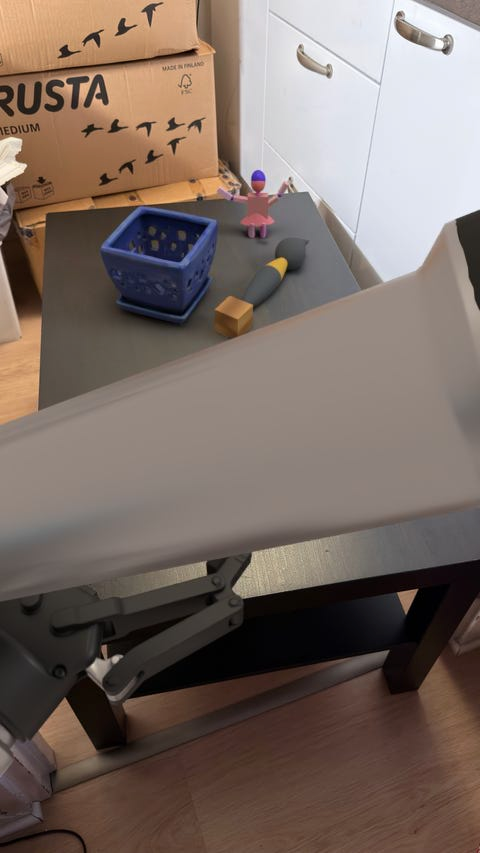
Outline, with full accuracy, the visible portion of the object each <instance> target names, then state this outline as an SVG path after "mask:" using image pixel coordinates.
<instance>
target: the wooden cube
mask: <svg viewBox="0 0 480 853" xmlns="http://www.w3.org/2000/svg"><path fill="white" fill-rule="evenodd" d="M253 314H254V307H253V305H252V304H249V303H247V302H245V301H242V300H241V299H240V298H237V297H235V296H232V295H229V296H227V297H226V298H225V299H224V301H222V302H221V303H220V304H219V305H218V306H217V307H216V308H215V309H214V332H216V333H218V334H220V335H223V336H224V337H227V338H230V339H233V338H236V337H238V336H241V335H244V334H247V333H248V332H249V331H250V329H252V328H253V316H254V315H253Z"/></svg>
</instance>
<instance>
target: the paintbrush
mask: <svg viewBox="0 0 480 853" xmlns="http://www.w3.org/2000/svg"><path fill="white" fill-rule="evenodd" d="M309 242H310V240H308V239H305V238H304V239H303V238H299V237H286V238H284V239H282V240H281V241H280V242H278V244H277V245H276V247H275V251H274V260H272V261H270V262H268V263H267V264H264V266H262V267H261V268H260V269H259V270H258V272H256V274H255V275H254V276H253V277H252V279H251V280H250V282H249V283H248V285H247V287H246V289H245V290H244V291H243V294H242V296H241V299H240V300H242V301H245V302H247V303H249V304H252V305H253V308H254V307H256V306H257V305H259V304H260V303H261V302H263V301H264V300H265V299H267V297H269V296H270V295H271V294H272V293H273V292H274V291H275V290H276V289H277V287H278V286H279V285H280V284H281V283H282V280H283V278H284V275H285V274H286V271H293V270H297V269H299V268H300V267H301V266H302V265H303V263H304V262H305V259H306V254H307V253H306V252H307V249H306V246H307V245H308V244H309Z"/></svg>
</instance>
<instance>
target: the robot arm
mask: <svg viewBox="0 0 480 853" xmlns="http://www.w3.org/2000/svg"><path fill="white" fill-rule="evenodd" d="M473 509H480V209H477V210H475V211H472V212H470V213H467V214H465V215H464V214H463V215H462V216H460V217H457V218H454V219H452V220H450V221H448V222H447V221H446V222H445V223H444V224H443V226H442V228H441V230H440V232H439V233H438V235H437V237H436V239H435V241H434V243H433V244H432V246H431V248H430V250H429V252H428V254H427V255H426V257H425V259H424V261H423V262H422V264H421V265H420V266H419V267H418V268H417V269H416V270H414V271H412V272H409V273H406V274H403V275H400V276H398V277H395V278H392V279H390V280H387V281H385V282H381V283H378V284H376V285H374V286H371V287H368V288H365V289H363V290H360V291H357V292H354V293H351V294H349V295H347V296H343V297H341V298H337V299H336V300H333V301H330V302H327V303H324V304H322V305H320V306H319V305H318V306H317V307H314V308H311V309H308V310H305V311H303V312H300V313H298V314H295V315H293V316H290V317H287V318H285V319H282V320H278V321H277V322H274V323H270V324H269V325H266V326H263V327H260V328H257V329H255V330H252V331H248V332H246V333H245V334H244V335H241V336H238V337H236V338H233V339H232V338H230V339H228V340H225V341H222V342H220V343H217V344H213V345H212V346H209V347H207V348H203V349H201V350H198V351H196V352H193V353H191V354H187V355H184V356H182V357H178V358H177V359H174V360H172V361H169V362H166V363H163V364H161V365H158V366H155V367H153V368H149V369H147V370H143V371H141V372H139V373H137V374H133V375H130V376H128V377H125V378H122V379H120V380H117V381H115V382H112V383H109V384H106V385H104V386H100V387H99V388H96V389H93V390H90V391H87V392H85V393H83V394H80V395H77V396H75V397H71V398H69V399H66V400H64V401H60V402H58V403H56V404H53V405H51V406H47V407H45V408H42V409H40V410H36V411H33V412H31V413H29V414H26V415H22V416H20V417H18V418H14V419H13V420H9V421H7V422H4V423H2V424H0V778H2V776H3V775H4V774H5V772H6V771H7V770H8V769H9V768H10V766H11V765H12V764H13V762H14V761H15V756H14V752H13V751H12V748H13V746H14V745H15V744H16V742H17V743H18V744H21V745H24V744H25V743H26V742H27V743H30V742H31V741H32V740H33V738H34V737H35V736H36V734H37V733H38V732H39V731H40V729H41V728H42V727H43V726H44V725H45V724H46V722H47V721H48V719H49V718H50V717H51V716H52V714H53V713H54V712H55V711H56V710H57V709H58V707H59V706H60V704H61V703H62V702H63V701H64V699H65V698H66V697H67V695H68V694H69V692H70V690H71V689H72V688H73V687H74V685H75V684H77V683H78V682H80V681H81V680H83V679H84V678H87V677H89V678H90V679H91V680H92V681H93V682H94V683H95V684H96V685H97V686H98V687H99V688H101V690H102V691H104V693H105V695H106V697H107V700H108V701H109V703H110V704H111V705H113V706H116V707H117V706H121V705H123V704H124V703H126V701H127V700H128V699H129V698H130V697H131V696H132V695H133V694H134V693H135V691H136V690H137V689H138V688H139V687H140V686H141V685H142V684H143V682H144V681H146V680H147V679H150V678H151V677H153V676H155V675H156V674H158V673H160V672H162V671H163V670H165V669H168V668H169V667H171V666H172V665H174V664H176V663H178V662H179V661H181V660H183V659H184V658H187V657H188V656H190V655H192V654H194V653H195V652H197V651H198V650H200V649H202V648H204V647H205V646H207V645H209V644H211V643H213V642H214V641H216V640H218V639H221V637H223V636H225V635H227V634H229V633H231V632H232V631H233V630H235V629H237V628H239V627H240V626H241V625H242V624H243V622H244V599H243V598H242V597H241V596H240V595H239V594H237V593H236V592H235V591H234V590H233V588H234V587H235V585H236V584H237V582H238V581H239V580H240V579H241V577H242V575H243V574H244V572H245V571H246V570H247V569H248V567H249V565H250V564H251V562H252V557H253V553H255V552H259V551H264V550H265V551H266V550H270V549H275V548H280V547H285V546H291V545H297V544H300V543H305V542H310V541H317V540H321V539H326V538H331V537H336V536H342V535H346V534H351V533H356V532H362V531H366V530H372V529H377V528H382V527H387V526H392V525H398V524H403V523H409V522H412V521H419V520H423V519H428V518H432V517H438V516H443V515H449V514H453V513H458V512H462V511H463V512H464V511H468V510H473ZM204 562H205V569H206V575H202V576H198V577H195V578H192V579H187V580H185V581H181V582H177V583H173V584H169V585H166V586H162V587H159V588H154V589H151V590H148V591H144V592H140V593H137V594H133V595H129V596H126V597H120V596H112V597H107V598H103V599H100V597H99V595H98V592H97V591H96V590H94V589H93V588H92V587H90V586H89V585H92V584H97V583H102V582H107V581H112V580H117V579H121V578H127V577H133V576H138V575H143V574H148V573H153V572H158V571H164V570H168V569H172V568H179V567H183V566H188V565H194V564H198V563H204ZM189 615H191V616H189ZM186 616H189V617H187V618H185V619H183V620H181V621H179V622H177V623H175V624H174V625H172V626H170V627H169V628H167V629H165V630H163V631H160V632H159V633H158V634H156V635H153V636H152V637H150V638H148V639H146V640H145V641H143V642H141V643H139V644H138V645H136V646H135V647H133V648H131V649H129V651H127V652H126V653H124V655H122V654H114V655H112V656H110V657H109V658H107V659H102V649H103V644H104V643H107V642H111V641H113V640H117V639H121V638H125V637H126V636H127V635H129V634H130V633H131V632H133V631H138V630H140V629H143V628H148V627H151V626H154V625H155V626H156V625H158V624H162V623H165V622H169V621H172V620H176V619H180V618H183V617H186Z"/></svg>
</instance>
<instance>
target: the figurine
mask: <svg viewBox="0 0 480 853" xmlns="http://www.w3.org/2000/svg"><path fill="white" fill-rule="evenodd" d="M250 176H251V177H250V187H251V189H252V191H253V192H247V196H244V195H238V194H232V193H230V192H228V190H226V189H225V188H223V187H222V186H219V187H218V188H217V190H216V193H217V194H218V195H220V196H221V197H222V198H224V199H225V200H227V201H228V202H230V201H232V202H235V203H241V204H246V205H247V215H246V216H245V217H244V218H243V219H241V220H240V224H241V225H244V226H247V230H248V231H247V235H248V237H249V238H250V239H254V238H255V237H256V227H259V236H260V238H262V239H265V238H266V237H267V236H266V235H267V226H269V225H272V224H274V223H275V219H273V218H272V217H271V216H270V215H269V208H270V207H272V206H273V205H275V204H276V203H278V202H279V201H280V199H281V197H283V196H284V195H285V193H286V191H287V190H288V188H289V186H290V183H289V182H288V181H285V180H284V181H283V182H282V184H281V186H280V188H279V189H278V191H277V192H276V194H274V195H272V196H271V197H270V198H269V192H263V191H264V189H265V187H266V183H267V182H266V181H267V180H266V175H265V173H264V171H262V170H260V169H256V170H254V171H253V172H252V173H251V175H250Z"/></svg>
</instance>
